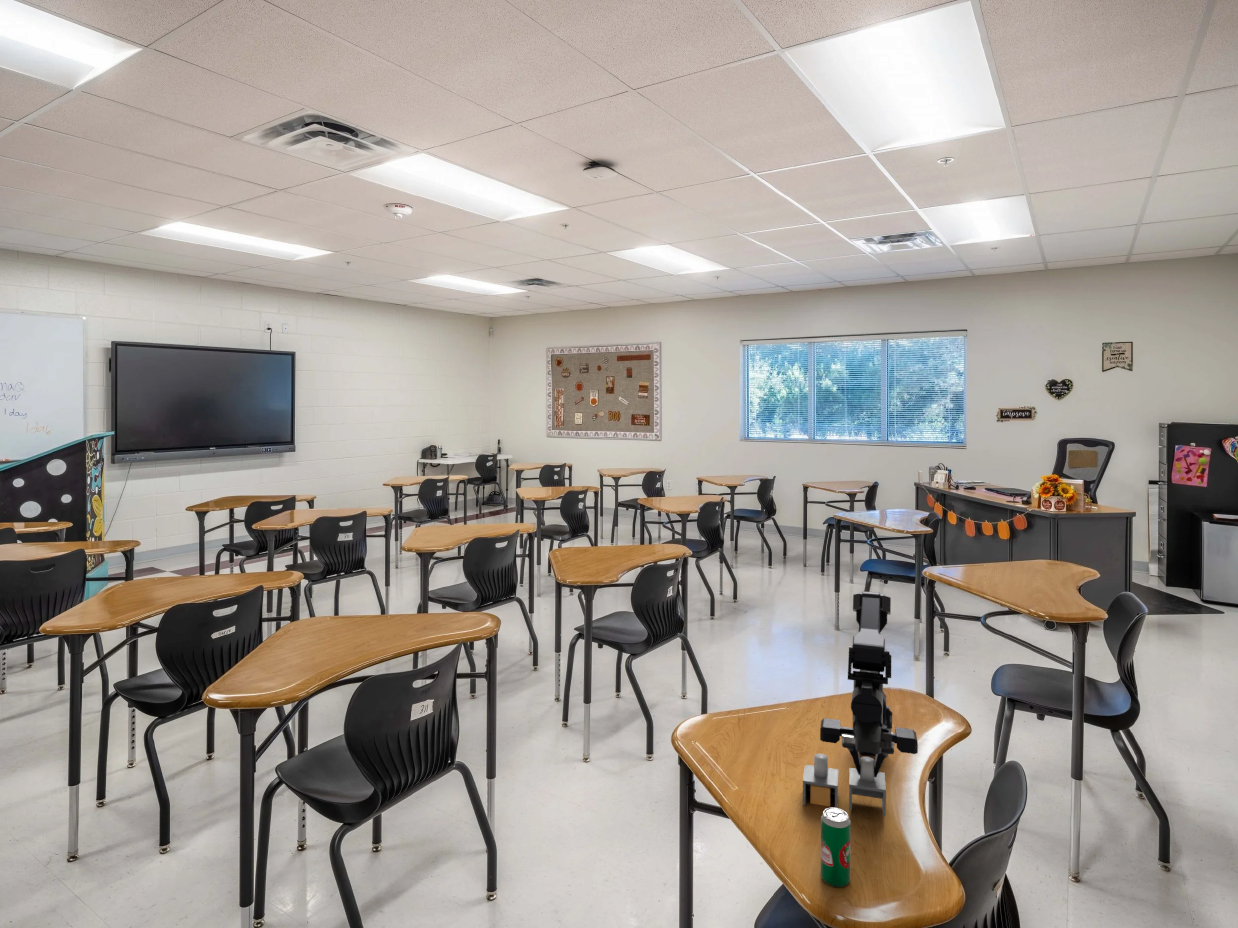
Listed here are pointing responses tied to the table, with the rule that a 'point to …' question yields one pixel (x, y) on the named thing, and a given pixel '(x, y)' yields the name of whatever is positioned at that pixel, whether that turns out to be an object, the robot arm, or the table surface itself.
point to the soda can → (835, 847)
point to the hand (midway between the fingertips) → (867, 774)
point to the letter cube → (820, 795)
